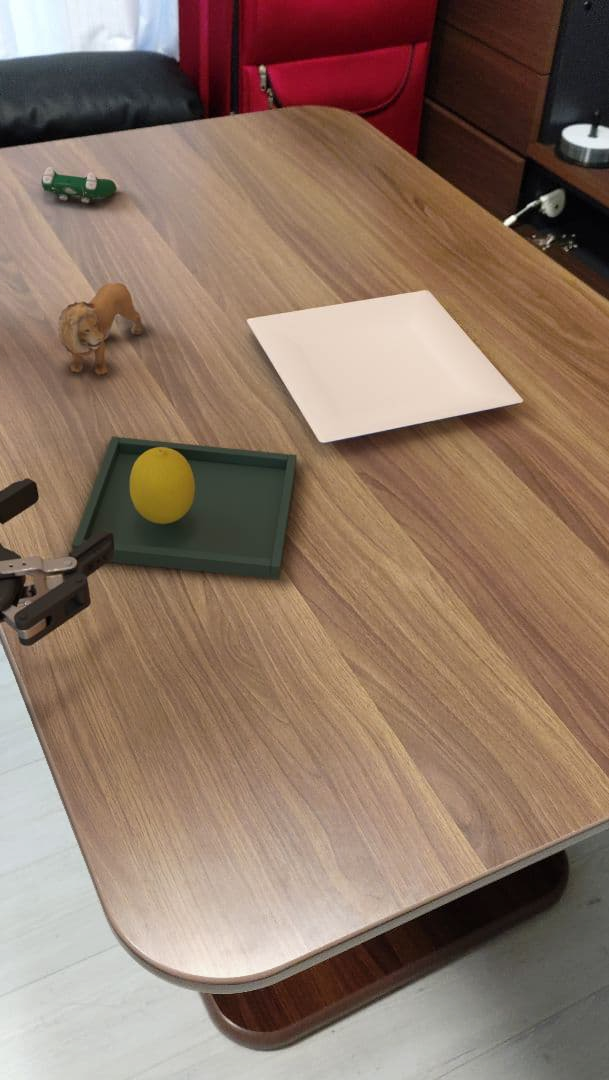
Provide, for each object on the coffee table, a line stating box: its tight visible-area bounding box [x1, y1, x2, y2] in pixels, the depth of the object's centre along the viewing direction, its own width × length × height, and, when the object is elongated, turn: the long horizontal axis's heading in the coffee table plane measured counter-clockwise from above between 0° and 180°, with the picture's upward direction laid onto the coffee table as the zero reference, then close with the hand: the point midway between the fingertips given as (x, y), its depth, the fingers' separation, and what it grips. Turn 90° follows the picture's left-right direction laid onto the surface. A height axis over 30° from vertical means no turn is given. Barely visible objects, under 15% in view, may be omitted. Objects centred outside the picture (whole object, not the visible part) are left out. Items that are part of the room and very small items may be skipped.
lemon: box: [130, 447, 195, 524], centre depth 83 cm, size 6×6×8 cm
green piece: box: [41, 166, 117, 204], centre depth 127 cm, size 9×4×6 cm
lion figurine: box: [58, 282, 143, 375], centre depth 101 cm, size 15×5×9 cm, turn 169°
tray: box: [71, 436, 298, 580], centre depth 87 cm, size 18×15×2 cm
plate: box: [246, 289, 524, 445], centre depth 104 cm, size 22×22×2 cm
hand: (71, 512), depth 75 cm, fingers open, 8 cm apart
